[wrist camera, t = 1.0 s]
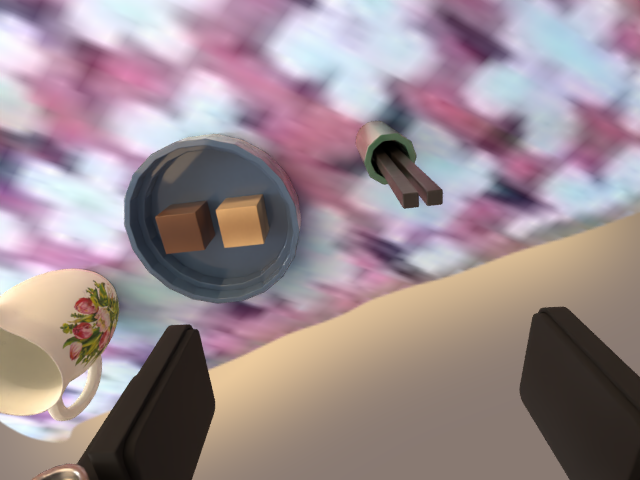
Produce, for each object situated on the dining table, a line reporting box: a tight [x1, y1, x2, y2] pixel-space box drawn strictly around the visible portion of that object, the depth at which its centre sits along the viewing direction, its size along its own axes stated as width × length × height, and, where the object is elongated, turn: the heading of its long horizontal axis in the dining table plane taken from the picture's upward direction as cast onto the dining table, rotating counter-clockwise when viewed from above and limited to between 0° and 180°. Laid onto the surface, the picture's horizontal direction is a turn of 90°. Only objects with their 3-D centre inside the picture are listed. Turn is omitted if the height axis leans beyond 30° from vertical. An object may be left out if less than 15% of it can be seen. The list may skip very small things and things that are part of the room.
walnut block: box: [155, 201, 215, 254], centre depth 39 cm, size 4×4×4 cm
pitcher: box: [0, 269, 119, 421], centre depth 39 cm, size 11×18×14 cm, turn 8°
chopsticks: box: [372, 141, 443, 209], centre depth 28 cm, size 1×2×20 cm, turn 97°
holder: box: [355, 121, 416, 185], centre depth 33 cm, size 4×4×10 cm
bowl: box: [124, 134, 301, 303], centre depth 39 cm, size 17×17×4 cm
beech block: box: [216, 194, 269, 248], centre depth 39 cm, size 4×4×4 cm
